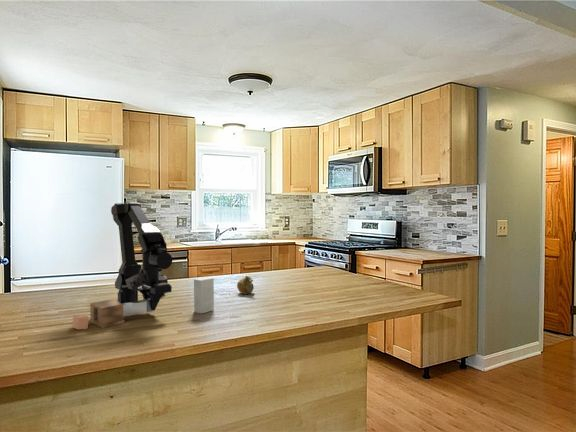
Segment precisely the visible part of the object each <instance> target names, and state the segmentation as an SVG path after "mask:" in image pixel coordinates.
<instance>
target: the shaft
mask: <svg viewBox="0 0 576 432" xmlns="http://www.w3.org/2000/svg"><path fill="white" fill-rule="evenodd" d="M150 312H153V311H152V309H151V302H150V298H142V299H141V300H138V301H135V302H129V303H124V304H123V317H126V316H128V317H129V316H132V315H137V314H143V313H150ZM97 320H98V309H97Z"/></svg>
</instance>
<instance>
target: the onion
mask: <svg viewBox="0 0 576 432" xmlns="http://www.w3.org/2000/svg"><path fill="white" fill-rule="evenodd" d="M253 282H254V279H252V277H250V276H248V275H245V277H243V278H241V279H239V280H238V281H237V283H236V288H237V290H238V292H240V293H241V294H244V295H248V294H251V293H252V292H253V291H254V289H255V287H254V286H255V285H254V283H253Z"/></svg>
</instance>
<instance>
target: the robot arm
mask: <svg viewBox="0 0 576 432" xmlns="http://www.w3.org/2000/svg"><path fill="white" fill-rule="evenodd" d="M110 212H111V215H112V219H113V221H114V222H115V224H116V225H117V226H118V234H119V235H118V236H119V243H120V244H119V245H120V251H121V252H120V253H121V261H122V262H121V264H120V266H119V269H118V275H117V277H116V279H115V281H114V287H115V289H117V290H118V291H117V302H119V303H122V304H124V303H129V302H135V301H139V293H140V294H141V295H142V297H143V298H142V299H144V298H150V302H151V309H152V311H151V312H153V311H155V310H156V309H157V306H158V305H159V303H160V300H161V299H162V297H163V296H164V295H163V294H166V293H167V294H168V293H172V292H173V291H172V288H173V287H172V286H173V285H171V284H170V283H169V282H168V283H162V280H160V279H159V275H160V271H161V272H162V270H168V269H169V268H170V267H171V265H173V257H172V255H171V253H169V252H168V247H167V242H166V241H165V238H164V236H163V234H162V232H161V230H159V229H158V228H157V227H156V226H154V225H152V224H151V222H150V221H149V219H148V217H147V216H146V214H145V213H144V210H142V206H141V203H140V202H135V201H134V202H133V201H132V202H131V201H128V202H125V203H123V202H122V203H118V202H117V203H114V205H112V206H111V207H110ZM132 224H134V226H135V229H136V230H137V232H138V236H137V240H138V241H137V242H138V243H139V245H140V247H141V249H140V253H142V255H141V257H142V259H141V260H142V261H141V263H142V264H141V263H138V262H137V261H136V254H135V243H134V236H133V235H134V234H133V225H132Z"/></svg>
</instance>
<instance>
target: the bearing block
mask: <svg viewBox="0 0 576 432" xmlns="http://www.w3.org/2000/svg"><path fill="white" fill-rule="evenodd" d="M89 304H90V306H89V308H90V313H89V314H90V315H89V316H90V317H89V322H90V323H92V324H93V325H96V326H98V327H99V328H102V329H105V328H109V327H113V326H119V325H123V324H125V319H124V316H123V304H122V303H119V302H118V301H117V300H113V299H108V300H102V301H96V302H91V303H89ZM97 309H98V320H97Z"/></svg>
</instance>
